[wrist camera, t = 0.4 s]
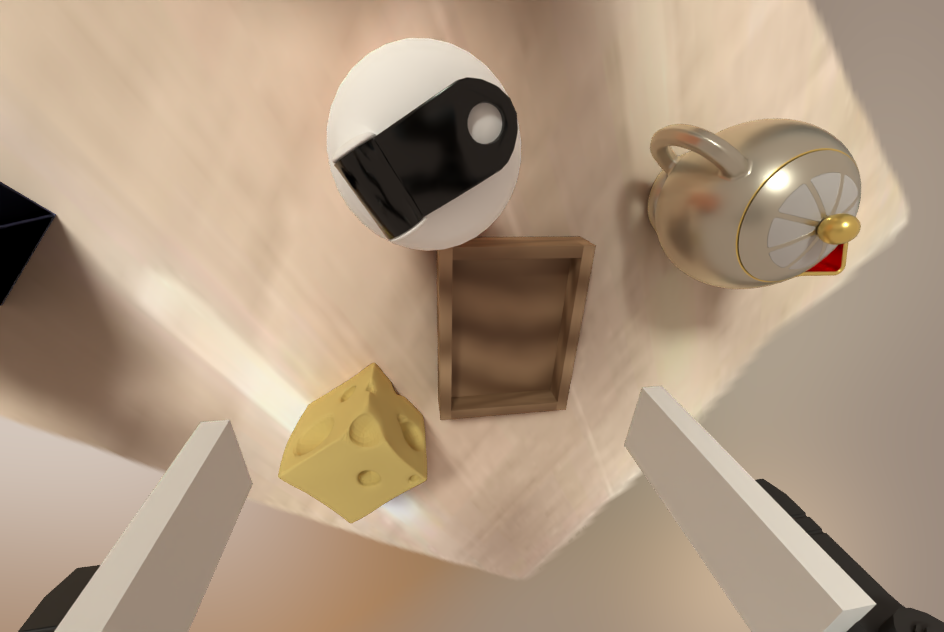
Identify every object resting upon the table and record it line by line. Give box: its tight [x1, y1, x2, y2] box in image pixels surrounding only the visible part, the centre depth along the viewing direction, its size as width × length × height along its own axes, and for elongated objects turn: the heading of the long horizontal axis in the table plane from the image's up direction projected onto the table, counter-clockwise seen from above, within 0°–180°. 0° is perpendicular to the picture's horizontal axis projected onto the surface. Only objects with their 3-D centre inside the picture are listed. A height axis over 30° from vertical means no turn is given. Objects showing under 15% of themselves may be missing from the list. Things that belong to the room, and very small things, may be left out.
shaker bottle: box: [327, 38, 521, 251], centre depth 23 cm, size 9×9×20 cm
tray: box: [437, 236, 596, 420], centre depth 40 cm, size 20×15×4 cm
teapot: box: [648, 119, 861, 289], centre depth 30 cm, size 18×14×16 cm
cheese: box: [278, 363, 427, 523], centre depth 39 cm, size 10×11×10 cm
